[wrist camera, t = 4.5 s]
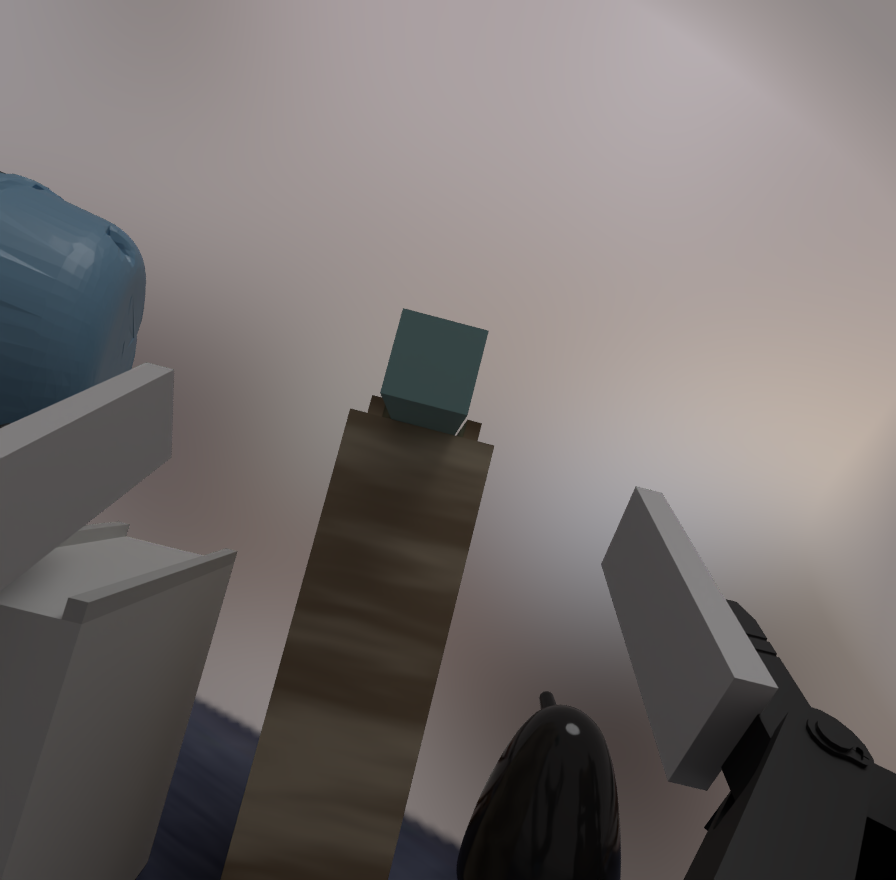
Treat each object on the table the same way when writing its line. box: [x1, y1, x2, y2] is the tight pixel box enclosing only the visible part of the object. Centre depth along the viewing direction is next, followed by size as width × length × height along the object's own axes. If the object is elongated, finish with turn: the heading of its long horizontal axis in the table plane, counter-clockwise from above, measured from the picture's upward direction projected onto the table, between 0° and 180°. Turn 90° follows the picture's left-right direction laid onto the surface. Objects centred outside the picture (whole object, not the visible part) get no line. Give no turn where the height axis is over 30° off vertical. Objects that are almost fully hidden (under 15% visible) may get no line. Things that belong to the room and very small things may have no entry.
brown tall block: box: [221, 395, 494, 880], centre depth 33 cm, size 12×8×31 cm, turn 3°
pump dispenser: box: [457, 691, 621, 880], centre depth 35 cm, size 10×10×15 cm
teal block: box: [380, 309, 488, 435], centre depth 32 cm, size 22×4×4 cm, turn 3°
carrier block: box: [0, 522, 237, 880], centre depth 26 cm, size 16×8×20 cm, turn 3°
